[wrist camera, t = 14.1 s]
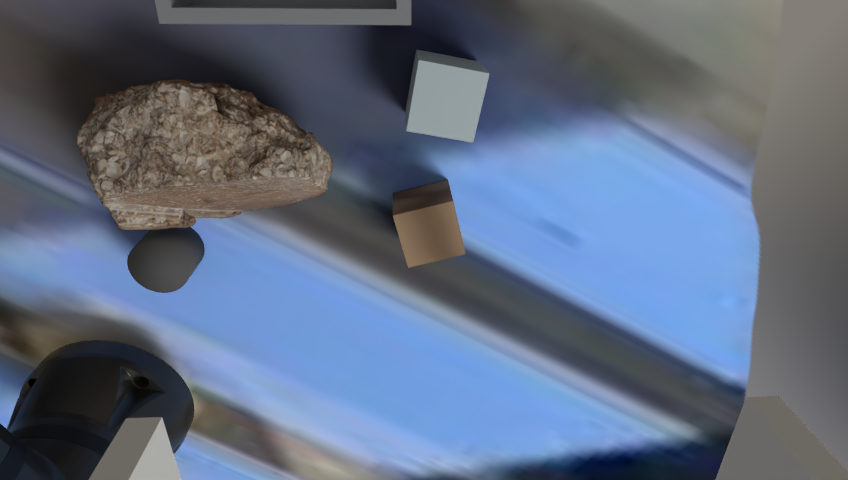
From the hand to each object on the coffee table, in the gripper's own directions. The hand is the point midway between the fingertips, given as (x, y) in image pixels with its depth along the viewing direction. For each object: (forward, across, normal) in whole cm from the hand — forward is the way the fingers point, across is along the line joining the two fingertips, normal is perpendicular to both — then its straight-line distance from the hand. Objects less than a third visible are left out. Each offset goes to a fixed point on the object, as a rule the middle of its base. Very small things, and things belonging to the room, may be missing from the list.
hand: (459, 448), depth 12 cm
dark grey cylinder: (+35, -22, -12) cm, 43 cm away
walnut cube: (+35, +1, -9) cm, 36 cm away
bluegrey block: (+35, +2, +2) cm, 35 cm away
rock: (+35, -16, -4) cm, 39 cm away
